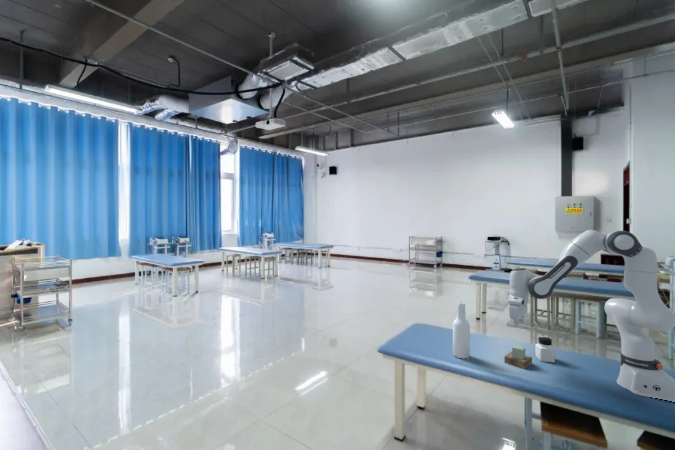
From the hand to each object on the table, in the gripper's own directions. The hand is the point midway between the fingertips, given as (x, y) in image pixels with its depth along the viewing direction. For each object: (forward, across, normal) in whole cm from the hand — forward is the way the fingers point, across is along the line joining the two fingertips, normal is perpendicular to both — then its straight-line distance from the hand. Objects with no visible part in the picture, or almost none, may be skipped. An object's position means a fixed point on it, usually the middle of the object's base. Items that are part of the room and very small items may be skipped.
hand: (518, 324), depth 169 cm
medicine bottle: (+21, -16, +9) cm, 28 cm away
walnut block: (+21, 0, 0) cm, 21 cm away
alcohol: (+21, +12, -26) cm, 35 cm away
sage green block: (+17, 0, 0) cm, 17 cm away
